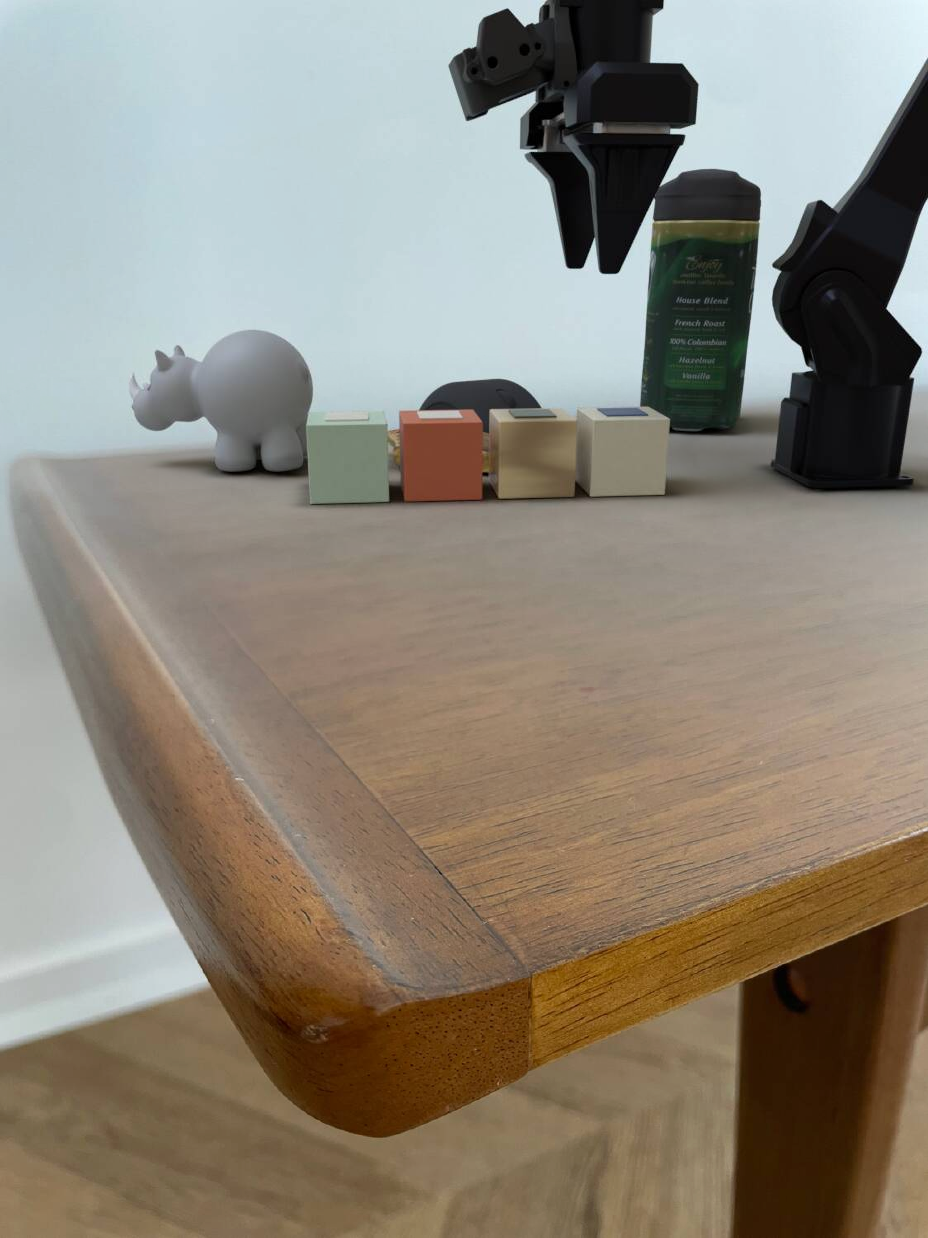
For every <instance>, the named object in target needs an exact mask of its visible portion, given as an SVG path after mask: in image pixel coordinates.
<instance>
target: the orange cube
mask: <svg viewBox="0 0 928 1238" xmlns="http://www.w3.org/2000/svg"><path fill="white" fill-rule="evenodd" d="M398 424H399V425H398V427H399V428H398V429H399V434H400V466H399V472H400V473H399V474H400V477H399V479H400V481H399V482H400V487H401V491H402V495H403V499H404V502H407V503H409V502H439V501H440V502H442V501H443V502H444V501H445V502H446V501H478V500H479V501H480V500H483V472H482V459H483V422H482V421H481V420H480V418H479V417H478V416H477V414H476V413H475V412H474V410H419V409H418V410H417V409H416V410H399V412H398Z"/></svg>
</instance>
